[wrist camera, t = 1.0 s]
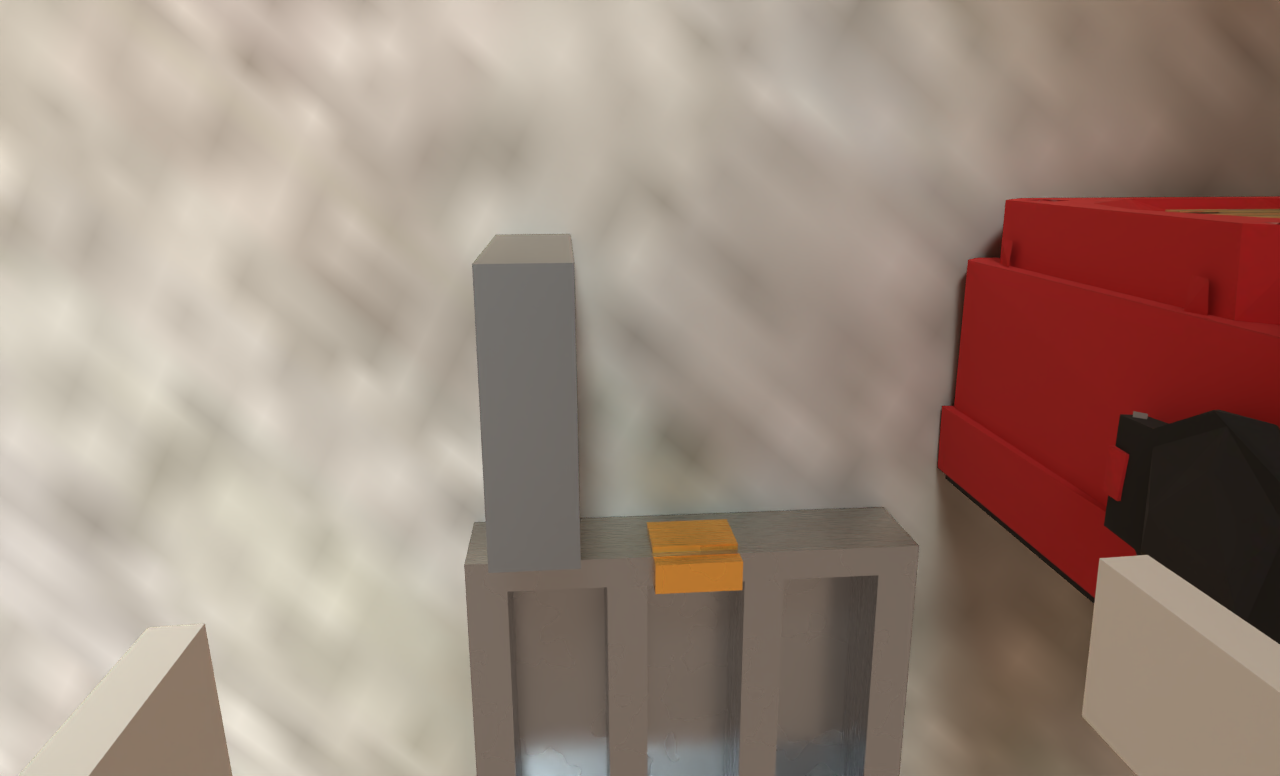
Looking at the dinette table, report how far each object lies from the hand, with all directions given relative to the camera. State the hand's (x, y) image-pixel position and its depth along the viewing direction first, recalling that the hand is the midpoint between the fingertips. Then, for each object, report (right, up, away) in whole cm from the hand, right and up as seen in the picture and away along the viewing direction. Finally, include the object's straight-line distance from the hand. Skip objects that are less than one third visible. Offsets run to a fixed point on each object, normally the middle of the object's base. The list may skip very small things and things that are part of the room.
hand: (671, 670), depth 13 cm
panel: (-4, +5, +17) cm, 18 cm away
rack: (+1, -6, +20) cm, 21 cm away
